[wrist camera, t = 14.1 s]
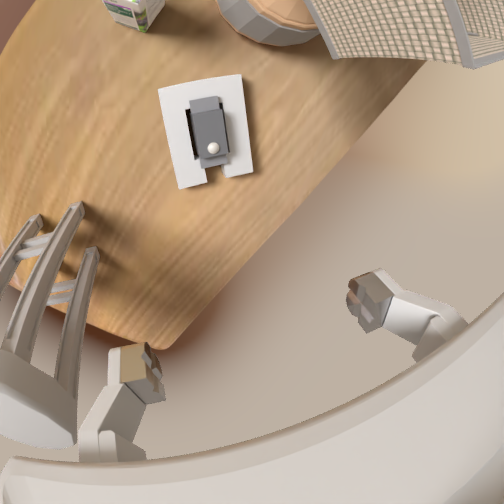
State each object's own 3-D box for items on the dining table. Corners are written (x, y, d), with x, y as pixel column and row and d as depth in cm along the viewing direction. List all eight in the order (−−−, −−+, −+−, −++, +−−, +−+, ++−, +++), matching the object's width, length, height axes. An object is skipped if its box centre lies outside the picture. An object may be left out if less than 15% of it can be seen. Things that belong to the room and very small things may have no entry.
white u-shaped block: (158, 89, 34) (157, 89, 31) (235, 75, 36) (241, 74, 33) (178, 183, 43) (179, 189, 41) (247, 167, 45) (253, 172, 43)
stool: (19, 209, 35) (-77, 371, 7) (89, 186, 38) (5, 378, 10) (48, 277, 43) (8, 443, 16) (113, 263, 47) (102, 452, 19)
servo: (186, 100, 36) (190, 101, 31) (212, 95, 37) (220, 95, 32) (198, 162, 42) (203, 172, 37) (222, 156, 43) (230, 166, 38)
